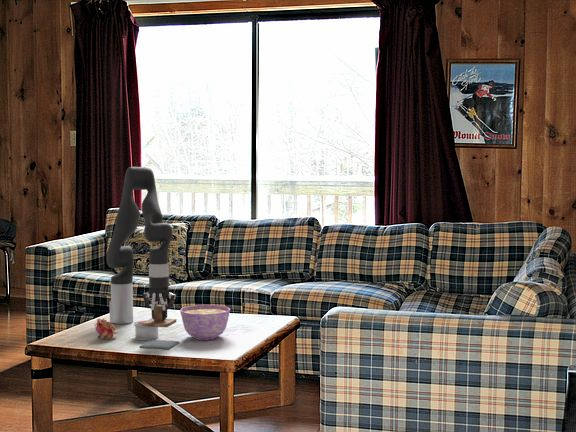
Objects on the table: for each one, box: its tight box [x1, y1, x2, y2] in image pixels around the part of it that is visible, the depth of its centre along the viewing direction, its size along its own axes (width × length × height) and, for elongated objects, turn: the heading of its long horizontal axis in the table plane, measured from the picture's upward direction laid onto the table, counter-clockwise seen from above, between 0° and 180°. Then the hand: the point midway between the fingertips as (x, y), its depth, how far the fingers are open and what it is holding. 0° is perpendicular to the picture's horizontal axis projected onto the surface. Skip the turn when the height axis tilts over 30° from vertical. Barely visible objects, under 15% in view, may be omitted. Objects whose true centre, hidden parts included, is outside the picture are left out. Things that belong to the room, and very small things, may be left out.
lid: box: [142, 304, 177, 328], centre depth 322 cm, size 10×10×7 cm
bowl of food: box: [179, 304, 231, 341], centre depth 335 cm, size 20×20×12 cm
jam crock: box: [133, 320, 159, 341], centre depth 336 cm, size 10×10×6 cm
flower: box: [94, 318, 119, 340], centre depth 334 cm, size 10×9×8 cm
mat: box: [139, 339, 180, 350], centre depth 323 cm, size 12×11×1 cm
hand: (159, 319), depth 322 cm, fingers closed on lid, 3 cm apart
